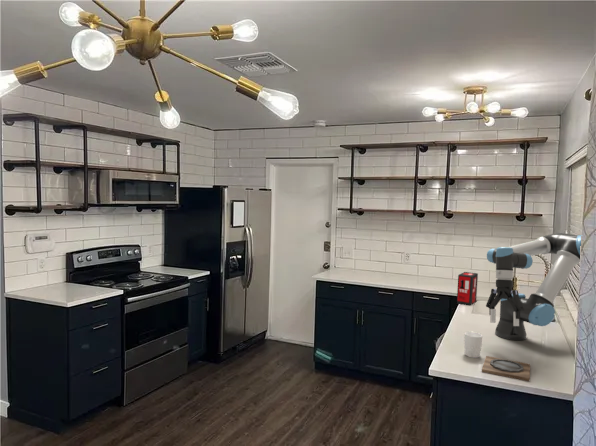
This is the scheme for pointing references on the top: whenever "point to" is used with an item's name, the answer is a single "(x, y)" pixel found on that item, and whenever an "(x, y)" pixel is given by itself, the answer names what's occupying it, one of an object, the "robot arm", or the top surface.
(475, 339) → the white cup
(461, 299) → the cleaning product box
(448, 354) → the top surface
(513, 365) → the coaster board
